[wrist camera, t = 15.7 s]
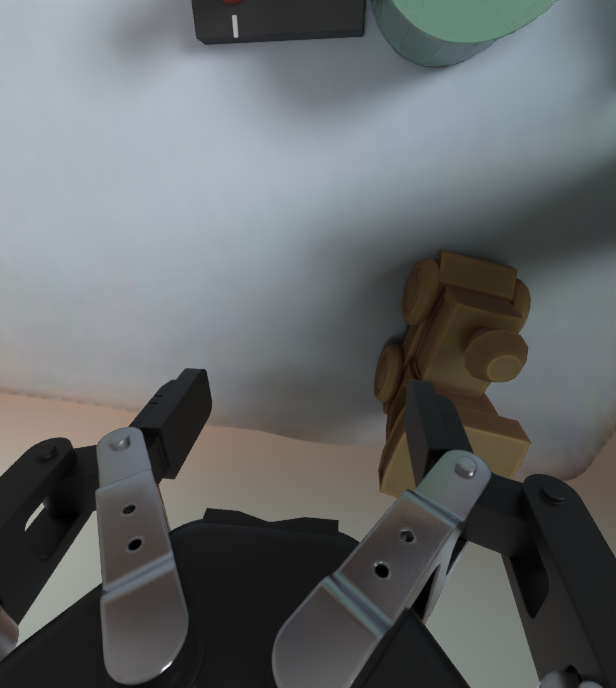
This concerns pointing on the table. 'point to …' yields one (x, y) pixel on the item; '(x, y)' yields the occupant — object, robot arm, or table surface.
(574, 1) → the table surface
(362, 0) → the black slab
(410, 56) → the pot
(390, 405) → the wooden toy train
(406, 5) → the pot lid
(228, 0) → the dial knob
